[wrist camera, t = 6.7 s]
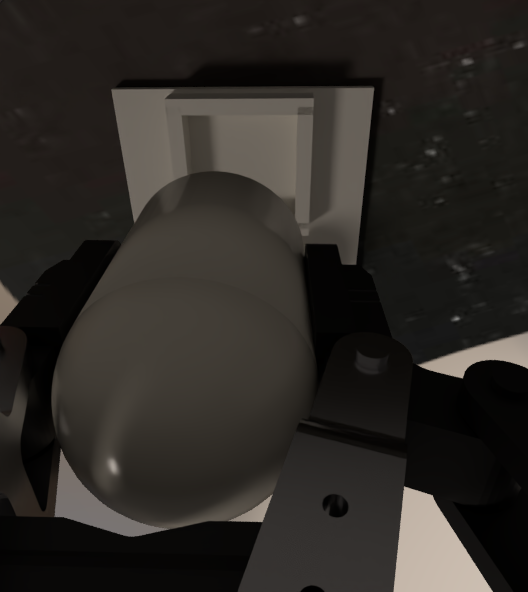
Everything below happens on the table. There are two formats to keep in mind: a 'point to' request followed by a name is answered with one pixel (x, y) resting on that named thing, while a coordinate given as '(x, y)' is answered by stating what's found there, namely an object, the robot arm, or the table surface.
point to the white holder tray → (256, 147)
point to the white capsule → (191, 357)
